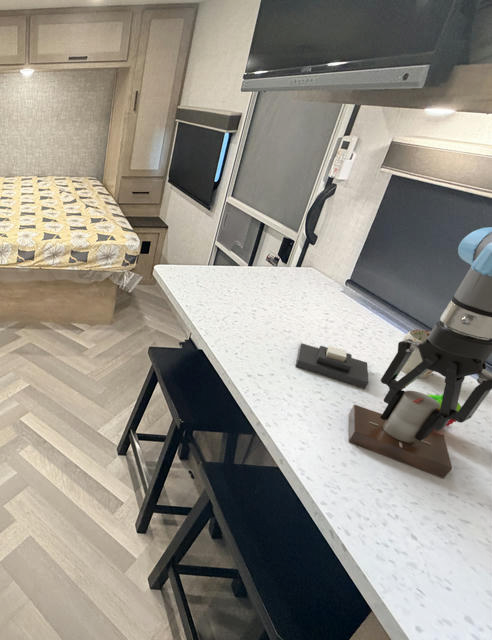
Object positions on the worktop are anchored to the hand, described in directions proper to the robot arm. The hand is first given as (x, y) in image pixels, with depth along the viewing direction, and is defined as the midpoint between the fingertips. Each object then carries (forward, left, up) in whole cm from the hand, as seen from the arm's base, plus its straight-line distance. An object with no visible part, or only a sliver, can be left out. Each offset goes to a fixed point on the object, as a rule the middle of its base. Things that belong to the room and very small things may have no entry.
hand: (403, 426), depth 79 cm
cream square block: (+11, -23, -1) cm, 26 cm away
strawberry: (-6, -11, -5) cm, 13 cm away
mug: (-5, -37, -5) cm, 38 cm away
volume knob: (0, 0, -2) cm, 2 cm away
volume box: (0, 0, -5) cm, 5 cm away
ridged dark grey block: (+11, -23, -5) cm, 26 cm away
